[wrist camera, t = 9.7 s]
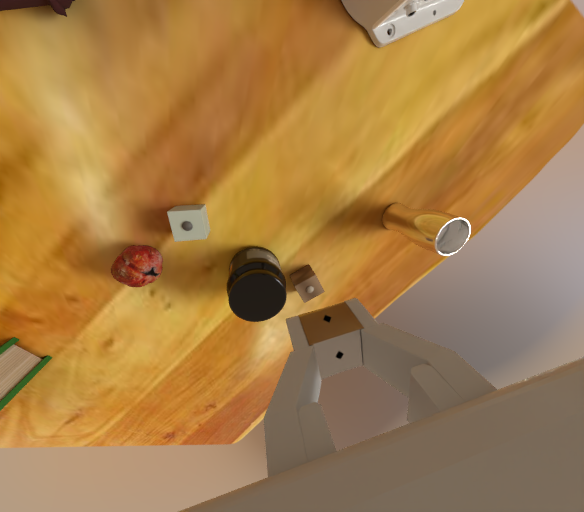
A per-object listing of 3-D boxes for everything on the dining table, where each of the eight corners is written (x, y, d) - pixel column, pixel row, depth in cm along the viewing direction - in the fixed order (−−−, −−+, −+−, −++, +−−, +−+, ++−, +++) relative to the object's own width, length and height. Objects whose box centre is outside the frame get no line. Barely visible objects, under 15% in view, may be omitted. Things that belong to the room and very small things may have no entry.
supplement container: (228, 288, 46) (224, 326, 36) (230, 243, 42) (225, 270, 32) (276, 288, 49) (285, 323, 38) (281, 245, 45) (293, 271, 34)
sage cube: (205, 204, 39) (200, 209, 34) (210, 230, 41) (206, 239, 36) (175, 205, 38) (166, 212, 33) (182, 232, 40) (174, 242, 35)
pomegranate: (135, 269, 43) (168, 293, 40) (90, 273, 36) (127, 303, 33) (146, 235, 42) (181, 258, 39) (102, 233, 35) (141, 260, 32)
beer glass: (413, 209, 48) (479, 227, 35) (395, 236, 50) (451, 263, 37) (392, 195, 46) (455, 208, 32) (374, 223, 47) (425, 247, 34)
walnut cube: (308, 264, 48) (315, 275, 44) (317, 280, 50) (324, 292, 46) (289, 275, 48) (294, 286, 44) (299, 290, 51) (304, 303, 46)
